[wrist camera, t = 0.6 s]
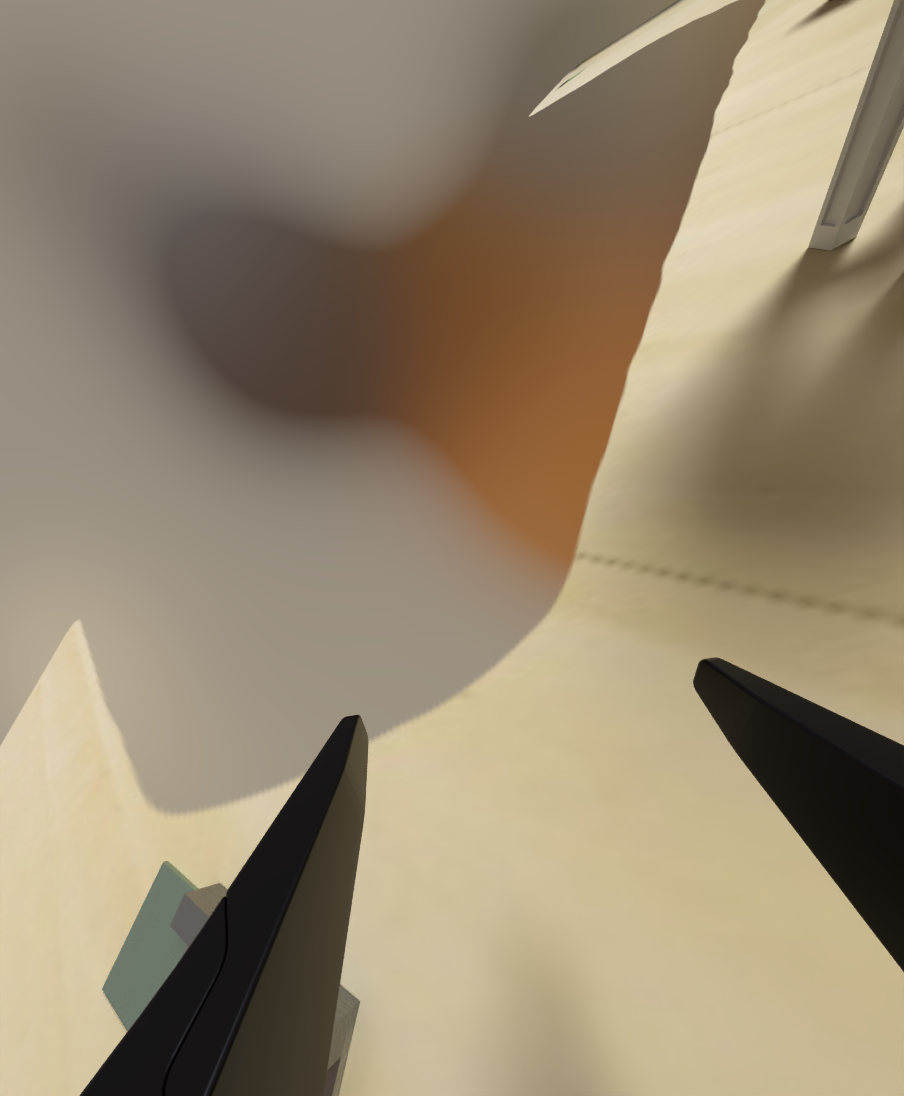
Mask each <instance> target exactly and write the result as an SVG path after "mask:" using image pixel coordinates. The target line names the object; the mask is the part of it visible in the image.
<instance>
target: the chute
mask: <svg viewBox="0 0 904 1096" xmlns="http://www.w3.org/2000/svg"><path fill="white" fill-rule="evenodd" d="M226 892H227V889H226V888H225V887H224V886H222V885H221V884H220V883H218V884H215V885H211V886H208V887H205V888H201V889H198V888H197V887H195V886H194V885H193V884H192V883H191V882H190V881H189V880H188V879H187V878H186V877H184V876H183V875H182V874H181V873H180V872H179V871H178V870H177V869H176V868H175V867H173V866H172V865H171V864H170V863H169V862H168V861H165V862H163V864H162V866H161V868H160V870H159V872H158V874H157V876H156V878H155V880H154V882H153V884H152V887H151V889H150V891H149V893H148V895H147V897H146V899H145V901H144V903H143V905H142V907H141V909H140V911H139V913H138V916H137V918H136V920H135V922H134V924H133V926H132V928H131V930H130V932H129V934H128V936H127V938H126V940H125V942H124V945H123V947H122V949H121V951H120V953H119V955H118V957H117V959H116V961H115V963H114V965H113V967H112V969H111V971H110V974H109V976H108V978H107V980H106V982H105V984H104V986H103V988H102V990H103V991H104V993H105V995H106V996H107V998H108V1000H109V1001H110V1003H111V1005H112V1006H113V1008H114V1010H115V1011H116V1013H117V1015H118V1016H119V1018H120V1019H121V1021H122V1023H123V1024H124V1026H125V1028H126V1029H127V1031H128V1030H129V1029H130V1028H131V1026H132V1025H133V1024H134V1022H135V1021H136V1020H137V1018H138V1017H139V1016H140V1014H141V1013H142V1012H143V1010H144V1009H145V1007H146V1006H147V1005H148V1003H149V1002H150V1001H151V999H152V998H153V996H154V995H155V994H156V992H157V991H158V990H159V988H160V987H161V986H162V984H163V983H164V981H165V980H166V979H167V977H168V976H169V975H170V973H171V972H172V971H173V969H174V968H175V966H176V965H177V963H178V962H179V961H180V959H181V958H182V956H183V955H184V953H185V952H186V950H187V949H188V947H189V946H190V945H191V943H192V942H193V940H194V939H195V937H196V936H197V934H198V933H199V932H200V930H201V929H202V927H203V926H204V924H205V923H206V921H207V920H208V918H209V917H210V915H211V914H212V912H213V911H214V909H215V908H216V906H217V905H218V903H219V902H220V900H221V899H222V898H223V897H224V896H226ZM359 1003H360V1001H359V1000H358V999H357V998H355V997H354V996H353V995H352V994H351V993H349V992H348V991H347V990H346V989H345V988H343V987H342V986H341V985H340V987H339V994H338V1000H337V1007H336V1014H335V1021H334V1028H333V1034H332V1041H331V1048H330V1055H329V1062H328V1069H327V1075H326V1082H325V1089H324V1096H338V1095H339V1090H340V1086H341V1081H342V1077H343V1073H344V1068H345V1064H346V1060H347V1055H348V1051H349V1046H350V1042H351V1038H352V1033H353V1029H354V1025H355V1020H356V1016H357V1012H358V1007H359Z"/></svg>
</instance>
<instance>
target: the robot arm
mask: <svg viewBox="0 0 904 1096" xmlns="http://www.w3.org/2000/svg"><path fill="white" fill-rule="evenodd" d="M693 684H694V688H695V690H696V692H697V693H698V695H699V696H700V698H701V699H702V701H703V703H704V704H705V706H706V707H707V709H708V710H709V712H710V713H711V715H712V717H713V718H714V720H715V721H716V723H717V724H718V726H719V727H720V729H721V731H722V732H723V734H724V735H725V737H726V738H727V740H728V741H729V743H730V744H731V746H732V747H733V749H734V750H735V752H736V753H737V754H738V756H739V757H740V758H741V760H742V761H743V762H744V764H745V765H746V766H747V768H748V769H749V770H750V772H751V773H752V774H753V775H754V777H755V778H756V779H757V781H758V782H759V783H760V785H761V786H762V787H763V789H764V790H765V791H766V792H767V794H768V795H769V796H770V798H771V799H772V800H773V802H774V803H775V804H776V806H777V807H778V808H779V809H780V811H781V812H782V813H783V815H784V816H785V817H786V819H787V820H788V821H789V823H790V824H791V825H792V826H793V828H794V829H795V830H796V832H797V833H798V834H799V836H800V837H801V838H802V840H803V841H804V842H805V843H806V845H807V846H808V847H809V849H810V850H811V851H812V853H813V854H814V855H815V857H816V858H817V859H818V860H819V862H820V863H821V864H822V866H823V867H824V868H825V870H826V871H827V872H828V874H829V875H830V876H831V877H832V879H833V880H834V881H835V883H836V884H837V885H838V887H839V888H840V889H841V891H842V892H843V893H844V895H845V896H846V897H847V898H848V900H849V901H850V902H851V904H852V905H853V906H854V908H855V909H856V910H857V912H858V913H859V914H860V915H861V917H862V918H863V919H864V921H865V922H866V923H867V925H868V926H869V927H870V929H871V930H872V931H873V932H874V934H875V935H876V936H877V938H878V939H879V940H880V942H881V943H882V944H883V946H884V947H885V948H886V949H887V951H888V952H889V953H890V955H891V956H892V957H893V959H894V960H895V961H896V963H897V964H898V965H899V966H900V968H901V969H902V970H903V972H904V745H901V744H899V743H897V742H895V741H893V740H891V739H889V738H887V737H885V736H883V735H880V734H878V733H876V732H874V731H872V730H870V729H868V728H866V727H864V726H862V725H859V724H857V723H855V722H853V721H851V720H849V719H847V718H845V717H843V716H840V715H838V714H836V713H834V712H832V711H830V710H828V709H826V708H824V707H822V706H819V705H817V704H815V703H813V702H811V701H809V700H807V699H805V698H803V697H800V696H798V695H796V694H794V693H792V692H790V691H788V690H786V689H784V688H782V687H779V686H777V685H775V684H773V683H771V682H769V681H767V680H765V679H763V678H761V677H758V676H756V675H754V674H752V673H750V672H748V671H746V670H744V669H742V668H739V667H737V666H735V665H733V664H731V663H729V662H727V661H725V660H723V659H720V658H708V659H702V660H701V661H700V662H699V664H698V667H697V670H696V673H695V676H694V680H693ZM367 761H368V735H367V732H366V729H365V726H364V724H363V721H362V718H361V717H360V716H359V715H353V716H347V717H345V718H343V719H342V720H341V721H340V723H339V724H338V726H337V727H336V729H335V730H334V732H333V733H332V735H331V736H330V738H329V739H328V741H327V742H326V744H325V745H324V747H323V748H322V750H321V751H320V753H319V754H318V756H317V757H316V759H315V760H314V762H313V763H312V765H311V766H310V768H309V769H308V771H307V772H306V774H305V775H304V777H303V778H302V780H301V781H300V783H299V784H298V786H297V787H296V789H295V790H294V792H293V793H292V795H291V796H290V797H289V799H288V800H287V802H286V803H285V805H284V806H283V808H282V809H281V811H280V812H279V814H278V815H277V817H276V818H275V820H274V821H273V823H272V824H271V826H270V827H269V829H268V830H267V832H266V833H265V835H264V836H263V838H262V839H261V841H260V842H259V844H258V845H257V847H256V848H255V850H254V851H253V853H252V854H251V856H250V857H249V859H248V860H247V862H246V863H245V865H244V866H243V868H242V869H241V871H240V872H239V874H238V875H237V877H236V878H235V880H234V881H233V883H232V884H231V886H230V887H229V889H228V890H227V892H226V896H224V897H223V898H222V899H221V900H220V902H219V903H218V905H217V906H216V908H215V909H214V911H213V912H212V914H211V915H210V917H209V918H208V920H207V921H206V923H205V924H204V926H203V927H202V929H201V930H200V932H199V933H198V934H197V936H196V937H195V939H194V940H193V942H192V943H191V945H190V946H189V947H188V949H187V950H186V952H185V953H184V955H183V956H182V958H181V959H180V961H179V962H178V963H177V965H176V966H175V968H174V969H173V971H172V972H171V973H170V975H169V976H168V977H167V979H166V980H165V981H164V983H163V984H162V986H161V987H160V988H159V990H158V991H157V992H156V994H155V995H154V996H153V998H152V999H151V1001H150V1002H149V1003H148V1005H147V1006H146V1007H145V1009H144V1010H143V1012H142V1013H141V1014H140V1016H139V1017H138V1018H137V1020H136V1021H135V1022H134V1024H133V1025H132V1026H131V1028H130V1029H129V1030H128V1032H127V1033H126V1034H125V1036H124V1037H123V1038H122V1040H121V1041H120V1042H119V1044H118V1045H117V1046H116V1048H115V1049H114V1050H113V1052H112V1053H111V1054H110V1056H109V1057H108V1058H107V1060H106V1061H105V1062H104V1064H103V1065H102V1066H101V1068H100V1069H99V1070H98V1072H97V1073H96V1074H95V1076H94V1077H93V1078H92V1080H91V1081H90V1082H89V1084H88V1085H87V1086H86V1088H85V1089H84V1090H83V1092H82V1093H81V1094H80V1096H324V1089H325V1082H326V1075H327V1069H328V1062H329V1055H330V1048H331V1041H332V1034H333V1028H334V1021H335V1014H336V1007H337V1000H338V994H339V987H340V980H341V973H342V966H343V959H344V953H345V946H346V939H347V932H348V925H349V918H350V912H351V905H352V898H353V891H354V884H355V878H356V871H357V864H358V857H359V850H360V843H361V837H362V830H363V822H364V814H365V800H366V780H367Z"/></svg>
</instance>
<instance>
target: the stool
mask: <svg viewBox="0 0 904 1096" xmlns="http://www.w3.org/2000/svg"><path fill="white" fill-rule="evenodd" d="M903 127H904V0H894V2H893V5H892V8H891V11H890V14H889V17H888V19H887V22H886V25H885V28H884V31H883V34H882V37H881V40H880V42H879V45H878V48H877V51H876V54H875V57H874V60H873V63H872V65H871V68H870V71H869V74H868V77H867V80H866V83H865V86H864V88H863V91H862V94H861V97H860V100H859V103H858V106H857V109H856V111H855V114H854V117H853V120H852V123H851V126H850V129H849V132H848V134H847V137H846V140H845V143H844V146H843V149H842V152H841V155H840V157H839V160H838V163H837V166H836V169H835V172H834V175H833V178H832V180H831V183H830V186H829V189H828V192H827V195H826V198H825V201H824V203H823V206H822V209H821V212H820V215H819V218H818V221H817V224H816V226H815V229H814V232H813V235H812V238H811V241H810V244H809V248H816V249H822V250H828V251H831V250H833V249H835V248H837V247H838V246H840V245H842V244H844V243H846V242H848V241H849V240H851V239H853V238H855V237H856V236H857V234H858V231H859V229H860V227H861V224H862V222H863V220H864V217H865V215H866V213H867V210H868V208H869V206H870V203H871V201H872V199H873V197H874V194H875V192H876V190H877V187H878V185H879V183H880V180H881V178H882V176H883V173H884V171H885V169H886V166H887V164H888V162H889V159H890V157H891V155H892V153H893V150H894V148H895V146H896V143H897V141H898V139H899V136H900V134H901V132H902V129H903Z"/></svg>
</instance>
